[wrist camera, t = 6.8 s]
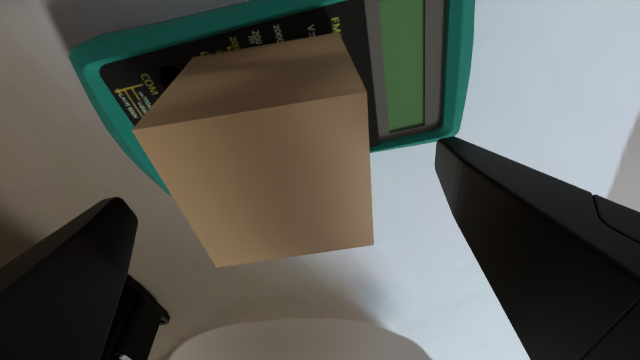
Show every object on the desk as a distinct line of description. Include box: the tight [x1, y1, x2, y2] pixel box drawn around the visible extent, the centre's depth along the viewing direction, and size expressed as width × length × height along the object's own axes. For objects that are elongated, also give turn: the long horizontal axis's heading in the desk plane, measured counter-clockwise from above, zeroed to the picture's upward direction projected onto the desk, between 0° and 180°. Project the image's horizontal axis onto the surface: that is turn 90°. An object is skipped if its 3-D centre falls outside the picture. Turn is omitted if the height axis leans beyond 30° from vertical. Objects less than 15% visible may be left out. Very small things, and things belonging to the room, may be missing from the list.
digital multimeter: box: [69, 0, 475, 196], centre depth 13 cm, size 7×15×3 cm, turn 102°
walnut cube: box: [132, 32, 374, 268], centre depth 10 cm, size 5×5×5 cm
